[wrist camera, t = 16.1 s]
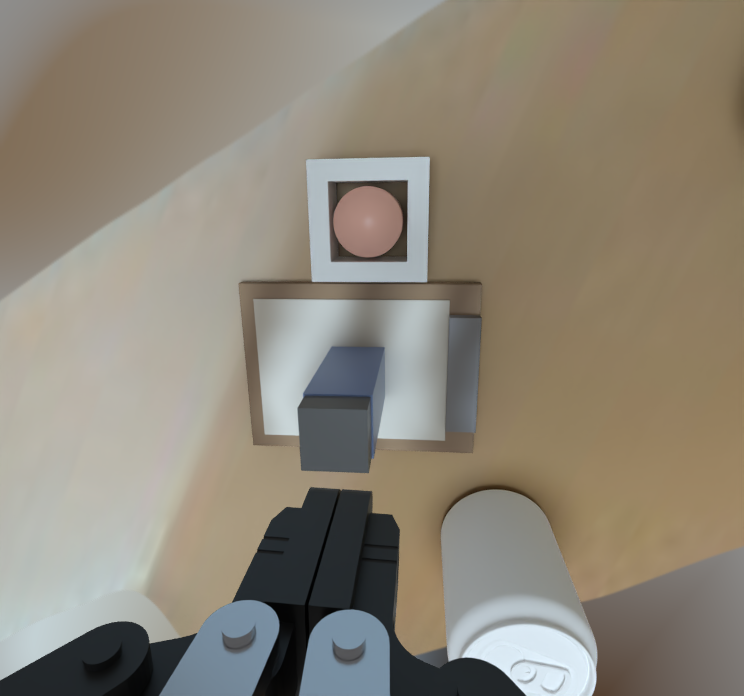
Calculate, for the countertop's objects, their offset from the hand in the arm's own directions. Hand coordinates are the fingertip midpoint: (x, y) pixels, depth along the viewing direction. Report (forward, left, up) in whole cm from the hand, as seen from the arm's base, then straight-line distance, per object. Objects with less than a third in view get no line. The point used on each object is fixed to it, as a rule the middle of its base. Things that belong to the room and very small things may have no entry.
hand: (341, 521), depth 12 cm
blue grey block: (+2, +4, -21) cm, 22 cm away
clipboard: (+2, +4, -22) cm, 23 cm away
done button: (+1, -6, -22) cm, 23 cm away
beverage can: (-8, +17, -22) cm, 29 cm away
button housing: (+1, -6, -22) cm, 23 cm away
